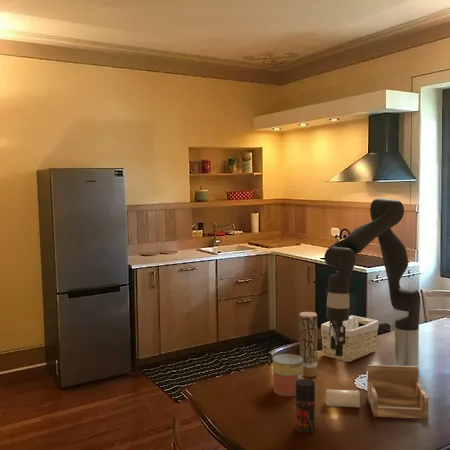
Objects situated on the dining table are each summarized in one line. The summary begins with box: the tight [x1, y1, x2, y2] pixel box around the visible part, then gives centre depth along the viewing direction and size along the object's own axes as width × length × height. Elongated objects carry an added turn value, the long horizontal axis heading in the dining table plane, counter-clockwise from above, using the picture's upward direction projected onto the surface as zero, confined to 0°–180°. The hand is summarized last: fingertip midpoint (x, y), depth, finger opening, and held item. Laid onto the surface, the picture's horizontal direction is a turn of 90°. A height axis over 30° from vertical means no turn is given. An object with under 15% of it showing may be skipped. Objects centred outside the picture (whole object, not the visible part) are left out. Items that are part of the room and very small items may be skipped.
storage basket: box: [320, 314, 379, 363], centre depth 231 cm, size 24×16×15 cm
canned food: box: [272, 353, 304, 397], centre depth 193 cm, size 11×11×12 cm
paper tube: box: [299, 311, 318, 378], centre depth 207 cm, size 7×7×25 cm
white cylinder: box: [325, 388, 361, 408], centre depth 179 cm, size 6×11×6 cm, turn 82°
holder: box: [367, 364, 430, 420], centre depth 176 cm, size 15×17×12 cm
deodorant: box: [295, 378, 316, 434], centre depth 162 cm, size 6×6×15 cm
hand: (336, 352), depth 177 cm, fingers open, 8 cm apart
